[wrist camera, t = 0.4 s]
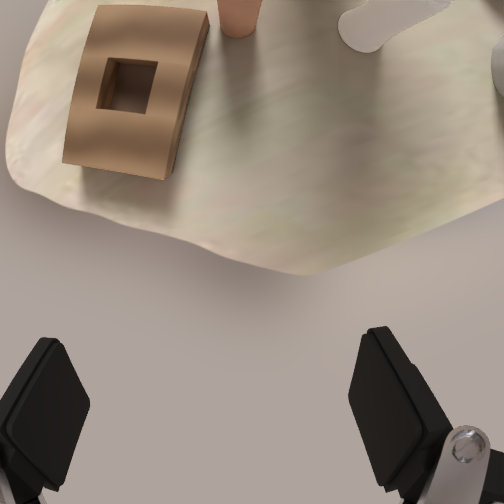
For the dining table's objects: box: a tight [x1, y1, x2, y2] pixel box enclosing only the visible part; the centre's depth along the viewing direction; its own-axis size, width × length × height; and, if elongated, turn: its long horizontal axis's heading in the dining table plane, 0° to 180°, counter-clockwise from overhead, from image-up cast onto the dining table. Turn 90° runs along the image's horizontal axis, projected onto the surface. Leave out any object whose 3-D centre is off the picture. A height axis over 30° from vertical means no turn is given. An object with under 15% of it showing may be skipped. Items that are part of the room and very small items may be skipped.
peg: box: [217, 0, 262, 38], centre depth 23 cm, size 4×4×12 cm
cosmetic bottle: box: [338, 0, 453, 53], centre depth 19 cm, size 6×6×22 cm
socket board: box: [62, 5, 210, 180], centre depth 28 cm, size 18×12×5 cm, turn 166°
